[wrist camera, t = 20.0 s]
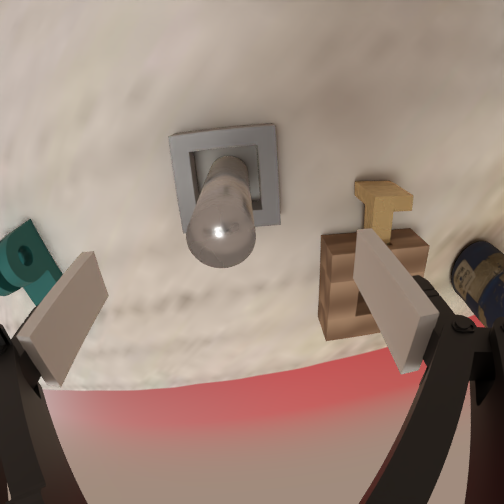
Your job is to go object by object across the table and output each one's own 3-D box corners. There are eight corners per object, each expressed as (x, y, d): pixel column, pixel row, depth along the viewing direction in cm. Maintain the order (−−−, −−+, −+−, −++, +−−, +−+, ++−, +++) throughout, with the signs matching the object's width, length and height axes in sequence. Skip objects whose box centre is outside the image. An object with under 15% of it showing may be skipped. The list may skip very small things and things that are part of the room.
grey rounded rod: (207, 157, 31) (180, 208, 17) (246, 154, 31) (252, 201, 17) (211, 194, 33) (192, 270, 19) (249, 190, 33) (258, 265, 19)
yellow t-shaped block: (355, 181, 33) (374, 196, 28) (389, 180, 33) (413, 195, 28) (350, 258, 37) (366, 282, 32) (382, 255, 37) (401, 278, 32)
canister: (495, 265, 39) (561, 330, 23) (456, 301, 42) (515, 378, 26) (482, 224, 36) (564, 290, 20) (439, 265, 39) (512, 348, 23)
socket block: (321, 235, 36) (332, 255, 31) (410, 228, 36) (429, 245, 31) (317, 316, 41) (326, 341, 37) (396, 304, 41) (410, 326, 37)
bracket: (5, 236, 34) (-27, 263, 27) (31, 218, 33) (-3, 244, 26) (68, 332, 42) (49, 367, 35) (97, 323, 41) (79, 361, 34)
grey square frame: (174, 133, 30) (168, 136, 27) (271, 123, 30) (275, 125, 27) (187, 222, 34) (183, 233, 32) (277, 214, 34) (280, 224, 32)
